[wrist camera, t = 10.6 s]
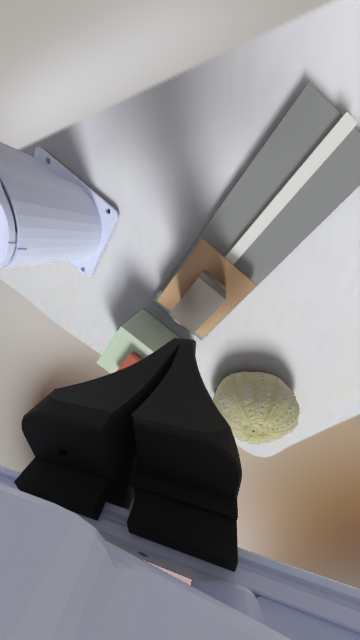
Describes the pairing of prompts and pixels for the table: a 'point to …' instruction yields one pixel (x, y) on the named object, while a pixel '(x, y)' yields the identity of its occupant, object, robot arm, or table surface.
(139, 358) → the button
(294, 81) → the table surface
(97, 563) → the robot arm
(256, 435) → the sea urchin shell
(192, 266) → the carriage
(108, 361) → the pale green block
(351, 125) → the track
